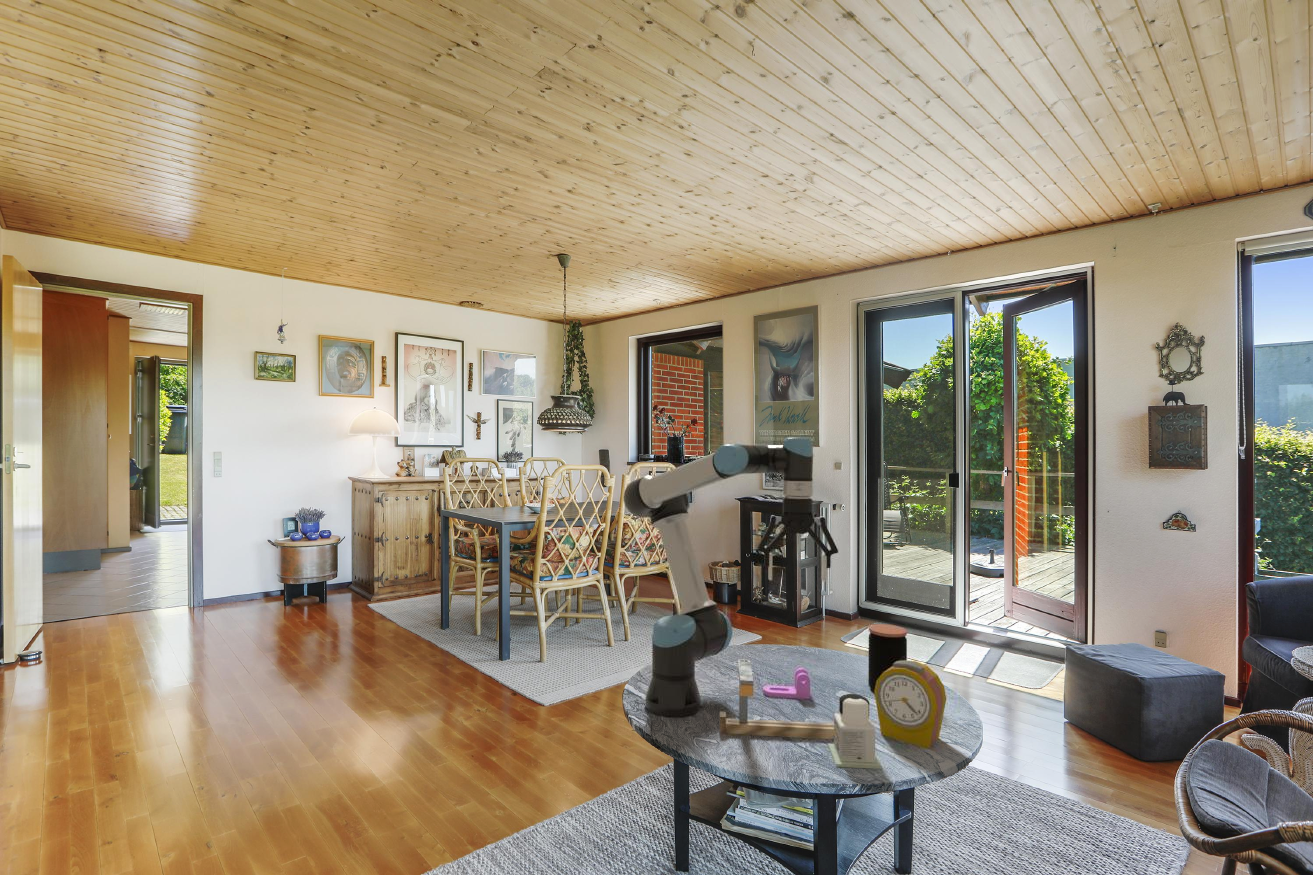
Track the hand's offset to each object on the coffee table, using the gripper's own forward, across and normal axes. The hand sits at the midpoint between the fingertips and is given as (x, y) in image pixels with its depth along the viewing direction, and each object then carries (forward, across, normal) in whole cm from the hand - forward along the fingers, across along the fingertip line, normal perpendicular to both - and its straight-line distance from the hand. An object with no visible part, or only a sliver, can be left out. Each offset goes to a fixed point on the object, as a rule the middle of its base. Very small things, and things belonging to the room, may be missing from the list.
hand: (797, 580), depth 164 cm
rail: (+37, -4, -6) cm, 37 cm away
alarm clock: (+37, +27, -4) cm, 46 cm away
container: (+36, +11, -16) cm, 41 cm away
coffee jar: (+37, +30, +27) cm, 55 cm away
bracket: (+37, 0, +21) cm, 42 cm away
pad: (+37, +11, -16) cm, 42 cm away
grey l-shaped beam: (+34, -14, -13) cm, 39 cm away
